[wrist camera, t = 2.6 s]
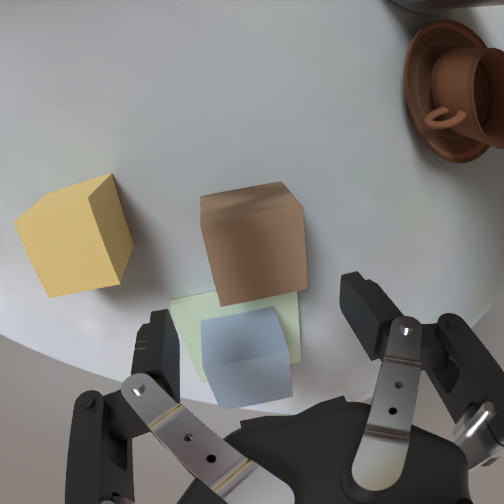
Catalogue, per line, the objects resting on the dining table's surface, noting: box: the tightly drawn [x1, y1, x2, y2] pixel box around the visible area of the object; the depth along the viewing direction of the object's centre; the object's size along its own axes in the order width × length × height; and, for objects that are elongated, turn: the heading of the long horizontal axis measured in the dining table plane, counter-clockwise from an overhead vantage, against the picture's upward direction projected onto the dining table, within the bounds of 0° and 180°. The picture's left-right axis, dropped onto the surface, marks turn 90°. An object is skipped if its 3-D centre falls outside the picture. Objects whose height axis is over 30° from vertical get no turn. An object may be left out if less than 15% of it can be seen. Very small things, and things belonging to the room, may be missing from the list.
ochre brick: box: [14, 174, 134, 298], centre depth 17 cm, size 6×6×5 cm
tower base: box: [170, 291, 301, 410], centre depth 24 cm, size 10×10×6 cm
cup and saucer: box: [404, 20, 504, 163], centre depth 16 cm, size 12×12×6 cm
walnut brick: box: [201, 182, 308, 307], centre depth 20 cm, size 6×6×5 cm
